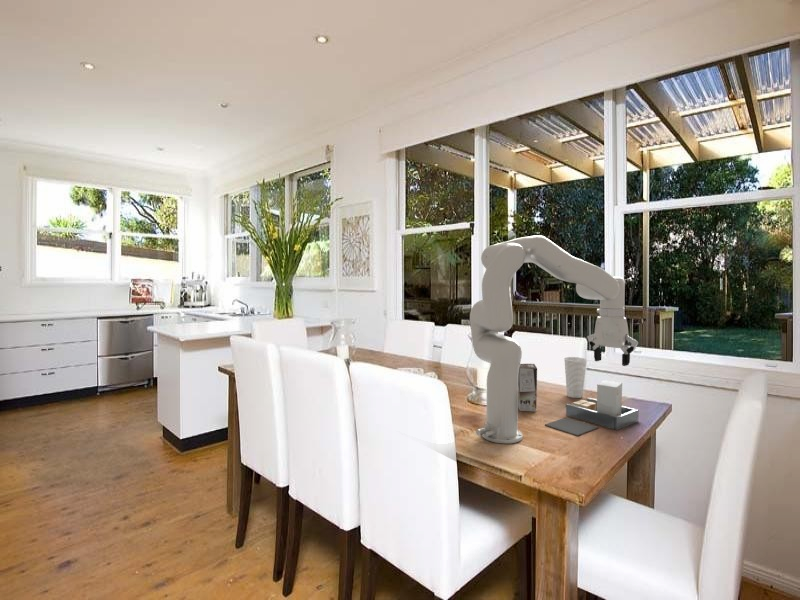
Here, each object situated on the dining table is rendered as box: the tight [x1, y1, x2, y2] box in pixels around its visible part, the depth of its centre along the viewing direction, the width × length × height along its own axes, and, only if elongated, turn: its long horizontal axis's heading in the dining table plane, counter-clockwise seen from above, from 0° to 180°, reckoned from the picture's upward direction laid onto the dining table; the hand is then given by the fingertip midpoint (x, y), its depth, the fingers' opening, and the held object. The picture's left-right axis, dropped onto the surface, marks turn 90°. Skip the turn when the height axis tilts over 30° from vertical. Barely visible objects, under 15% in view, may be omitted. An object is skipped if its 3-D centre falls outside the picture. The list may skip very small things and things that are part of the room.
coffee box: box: [518, 363, 538, 413], centre depth 167 cm, size 9×6×16 cm
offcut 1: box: [572, 399, 588, 407], centre depth 161 cm, size 6×2×4 cm, turn 126°
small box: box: [596, 379, 623, 417], centre depth 152 cm, size 8×6×13 cm
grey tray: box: [565, 397, 640, 431], centre depth 155 cm, size 14×18×4 cm
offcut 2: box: [580, 402, 596, 411], centre depth 159 cm, size 6×2×4 cm, turn 126°
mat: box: [544, 416, 600, 437], centre depth 146 cm, size 12×12×1 cm
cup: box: [564, 356, 587, 399], centre depth 181 cm, size 8×8×16 cm
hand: (611, 363), depth 151 cm, fingers open, 9 cm apart
